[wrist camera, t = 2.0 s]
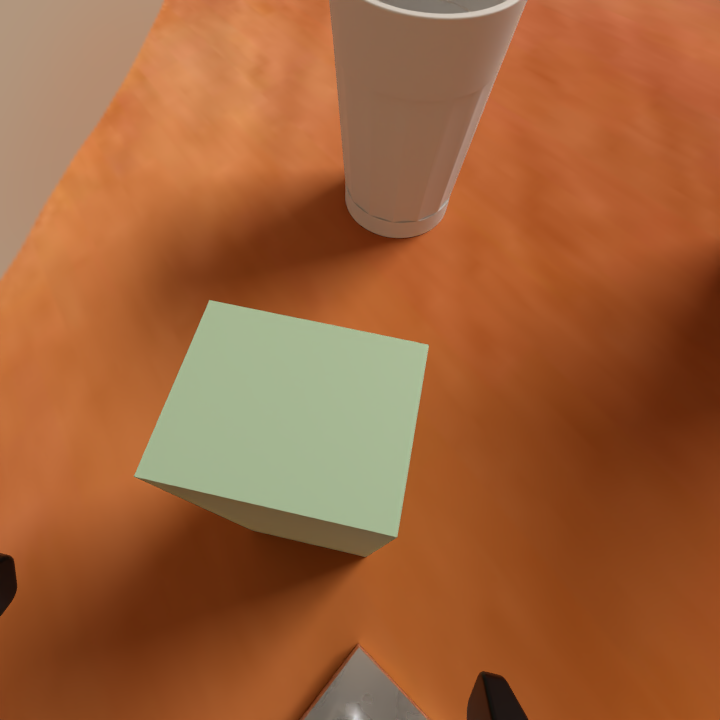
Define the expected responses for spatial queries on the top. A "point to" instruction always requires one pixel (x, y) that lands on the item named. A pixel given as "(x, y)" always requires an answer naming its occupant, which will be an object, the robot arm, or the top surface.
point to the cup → (412, 101)
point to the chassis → (362, 694)
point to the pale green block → (291, 427)
